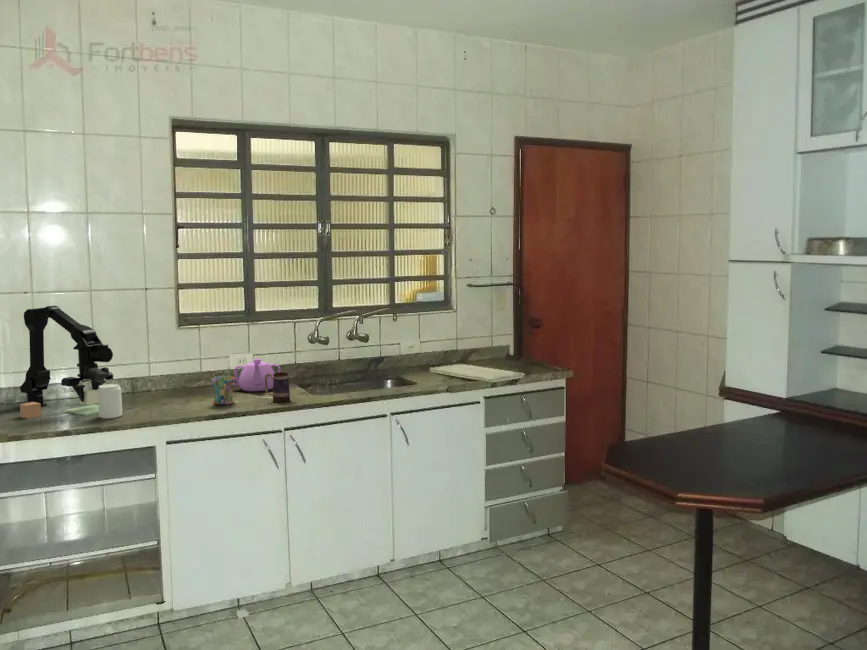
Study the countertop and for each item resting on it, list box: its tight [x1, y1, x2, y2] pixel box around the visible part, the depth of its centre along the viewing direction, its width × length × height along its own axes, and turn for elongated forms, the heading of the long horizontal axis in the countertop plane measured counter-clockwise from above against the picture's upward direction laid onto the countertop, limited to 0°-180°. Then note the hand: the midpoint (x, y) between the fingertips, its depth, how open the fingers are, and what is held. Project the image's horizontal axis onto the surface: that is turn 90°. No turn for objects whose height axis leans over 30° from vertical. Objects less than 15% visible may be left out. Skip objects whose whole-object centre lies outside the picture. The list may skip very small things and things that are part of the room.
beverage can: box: [97, 383, 123, 420], centre depth 276 cm, size 8×8×12 cm
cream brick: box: [78, 388, 98, 406], centre depth 286 cm, size 5×5×5 cm
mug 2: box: [265, 371, 291, 404], centre depth 302 cm, size 10×7×12 cm
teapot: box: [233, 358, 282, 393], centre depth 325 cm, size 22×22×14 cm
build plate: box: [65, 403, 99, 417], centre depth 287 cm, size 12×12×1 cm
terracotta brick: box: [19, 402, 42, 420], centre depth 278 cm, size 5×5×5 cm
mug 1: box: [211, 375, 236, 406], centre depth 297 cm, size 12×9×11 cm
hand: (89, 400), depth 286 cm, fingers closed on cream brick, 5 cm apart
